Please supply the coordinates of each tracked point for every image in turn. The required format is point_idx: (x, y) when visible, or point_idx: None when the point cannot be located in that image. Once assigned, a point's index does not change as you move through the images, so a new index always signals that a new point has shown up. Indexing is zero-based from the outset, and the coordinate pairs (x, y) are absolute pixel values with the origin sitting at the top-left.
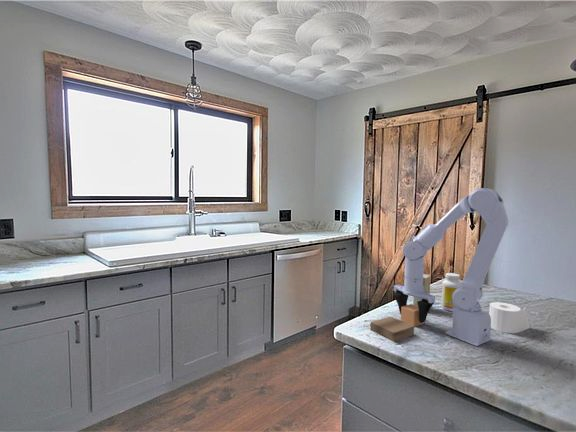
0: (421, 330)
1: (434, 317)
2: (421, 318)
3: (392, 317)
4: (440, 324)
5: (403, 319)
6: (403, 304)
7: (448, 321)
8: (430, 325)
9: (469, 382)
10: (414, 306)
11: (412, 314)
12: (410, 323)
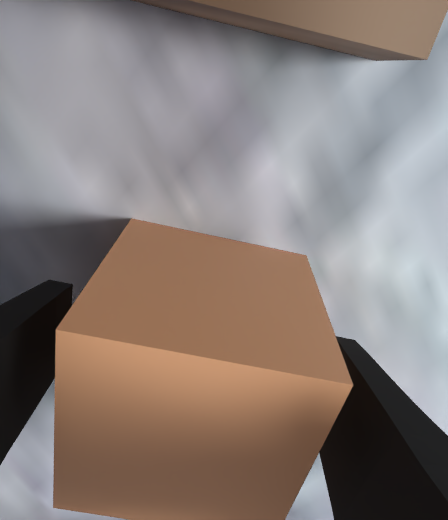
0: (11, 178)
1: None
2: (6, 304)
3: (378, 33)
4: None
5: (274, 263)
6: (364, 481)
7: (25, 490)
8: None
9: None
10: (192, 500)
11: (114, 297)
12: (170, 234)
